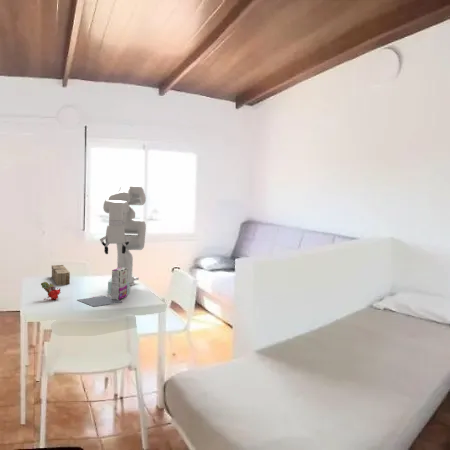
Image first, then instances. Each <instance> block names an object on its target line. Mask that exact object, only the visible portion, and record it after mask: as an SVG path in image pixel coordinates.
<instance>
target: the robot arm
mask: <svg viewBox="0 0 450 450" xmlns="http://www.w3.org/2000/svg"><path fill="white" fill-rule="evenodd" d="M146 199H147V197H146V193H145V191H144V188H143V187H142V186H141V185H138V184H124V185H122V186H121V187H120V188H119V190H118V192H116V193H114V194H113V193H112V194H111V195H109V196H107V197H106V199H105V201H104V202H103V205H102V206H103V207H102V208H103V211H104V213H106V214H108V225H107V226H106V230H105V236H102V237H101V238H99V241H100V243H101V245H102V246H103V247H104V253H105V255H108V254H109V247H108V246H110V244H111V245H112V244H116V250H117V252H116V253H117V261H116V269H117V268H120V267H122V268H128V275H127V282H129V287H130V286H134V285H135V281H139V279H140V278H139V277H138V276H135V277H134V276H133V266H134V263H133V262H134V261H133V259H134V258H133V257H134V256H133V254H132V253H131V251H141V250H144V248H145V243H146V242H145V241H146V233H147V232H146V231H147V230H146V229H147V228H146V227H147V224H146V222H145V220H143V219H137V218H136V212H135V210H134V209H133V208H132V206H144V205H145V204H146ZM104 240H105V242H104Z"/></svg>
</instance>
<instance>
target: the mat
mask: <svg viewBox="0 0 450 450" xmlns="http://www.w3.org/2000/svg"><path fill="white" fill-rule="evenodd" d="M76 301H78V302H81V303H83V304H86V305H88V306H91V307H93V308H96V307H102V306H109V305H115V304H120V303H121V304H122V303H123V301H121V300H112V299H111V296H107V295H100V296H93V297H87V298H79V299H77V300H76Z"/></svg>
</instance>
